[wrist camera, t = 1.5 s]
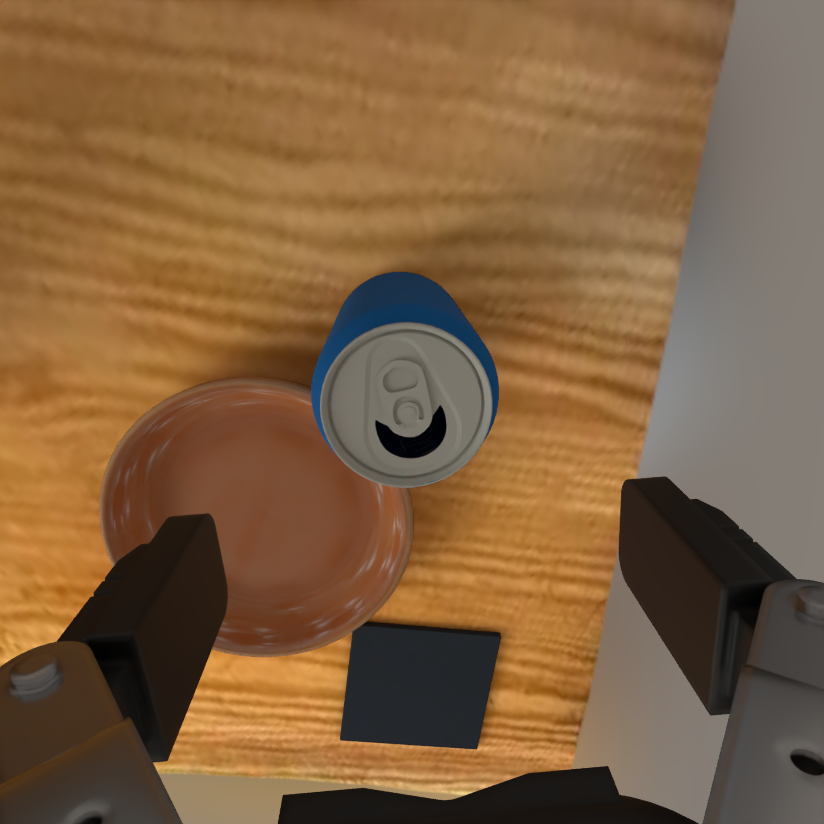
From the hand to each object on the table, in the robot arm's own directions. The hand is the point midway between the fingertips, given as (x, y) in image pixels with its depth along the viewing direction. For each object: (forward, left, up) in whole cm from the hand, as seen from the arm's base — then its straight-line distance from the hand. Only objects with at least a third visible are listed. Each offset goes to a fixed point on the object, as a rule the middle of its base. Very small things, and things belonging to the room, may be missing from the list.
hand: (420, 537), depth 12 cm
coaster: (-1, -23, -20) cm, 30 cm away
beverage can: (0, 0, -20) cm, 20 cm away
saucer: (-8, -9, -20) cm, 24 cm away
